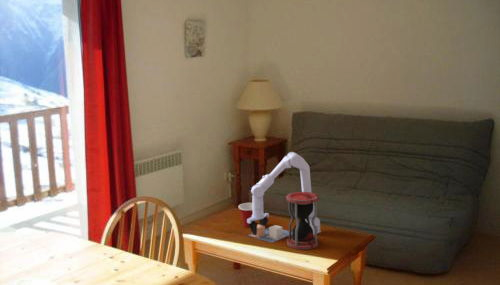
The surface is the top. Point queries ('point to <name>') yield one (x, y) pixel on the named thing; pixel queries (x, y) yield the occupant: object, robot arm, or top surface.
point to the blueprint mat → (271, 239)
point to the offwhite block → (275, 231)
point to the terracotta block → (260, 231)
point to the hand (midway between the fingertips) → (258, 233)
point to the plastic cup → (246, 212)
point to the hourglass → (302, 220)
